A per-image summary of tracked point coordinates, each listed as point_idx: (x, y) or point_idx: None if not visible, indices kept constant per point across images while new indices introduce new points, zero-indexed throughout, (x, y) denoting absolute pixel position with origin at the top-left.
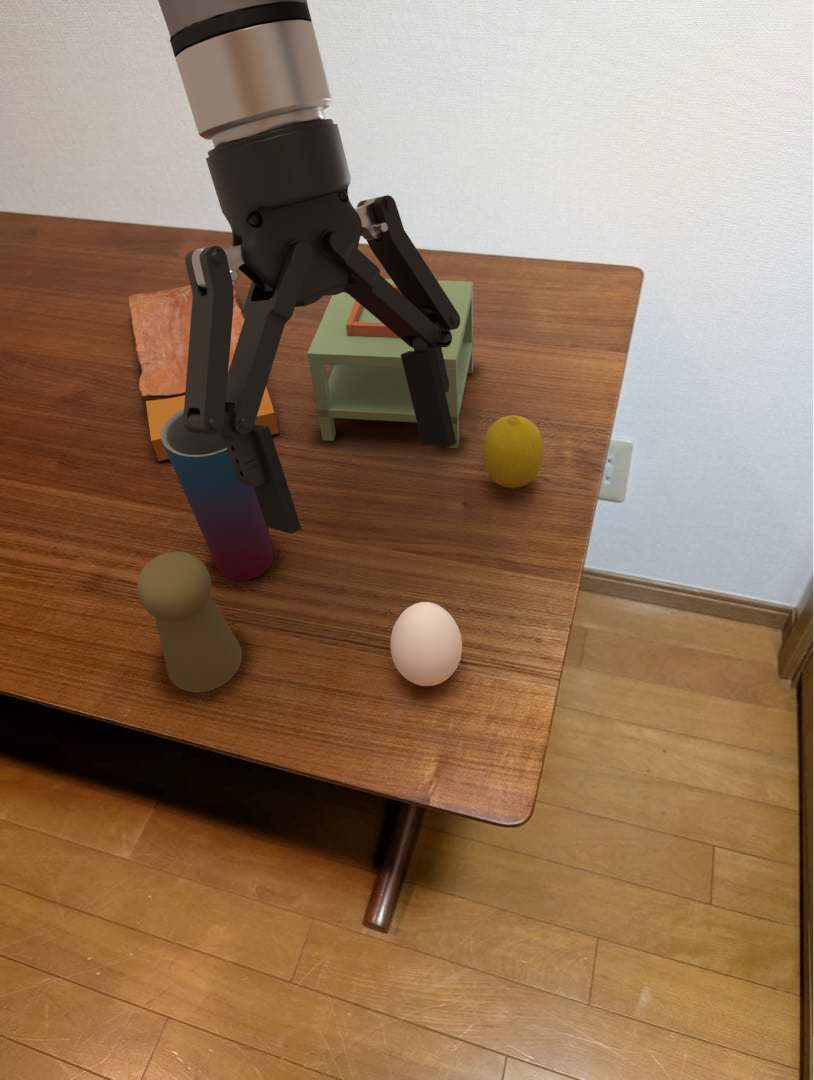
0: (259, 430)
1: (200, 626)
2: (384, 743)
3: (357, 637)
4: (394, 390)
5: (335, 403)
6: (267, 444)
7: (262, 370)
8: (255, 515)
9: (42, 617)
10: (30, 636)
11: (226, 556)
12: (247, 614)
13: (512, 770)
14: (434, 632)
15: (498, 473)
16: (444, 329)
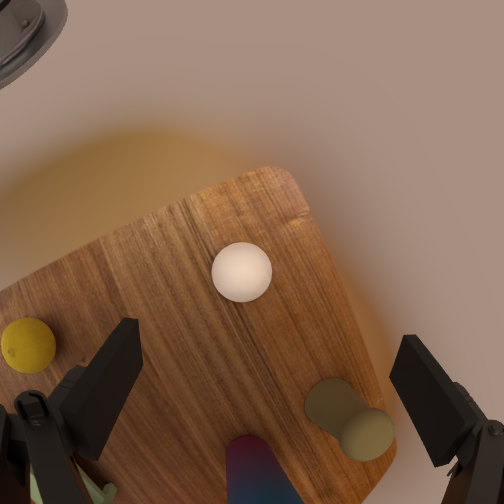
0: (478, 419)
1: (357, 403)
2: (300, 259)
3: (246, 339)
4: None
5: (95, 499)
6: (463, 405)
7: (481, 491)
8: (252, 465)
9: (360, 485)
10: (372, 477)
11: (274, 456)
12: (283, 414)
13: (261, 179)
14: (252, 253)
15: (51, 343)
16: (13, 421)
